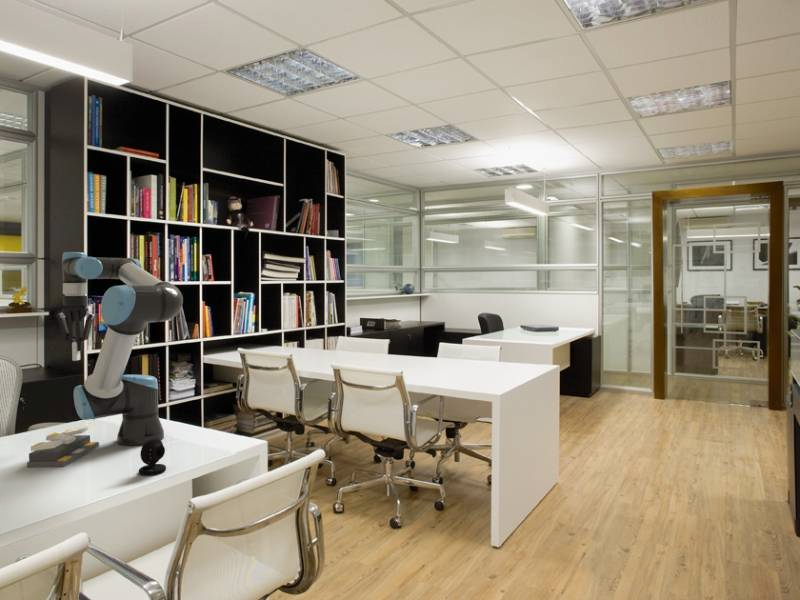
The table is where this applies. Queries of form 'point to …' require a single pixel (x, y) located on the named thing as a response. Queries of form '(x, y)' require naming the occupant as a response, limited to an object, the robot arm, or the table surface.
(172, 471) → the table surface
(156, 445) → the webcam
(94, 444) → the switch panel
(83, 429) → the rocker
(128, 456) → the table surface
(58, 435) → the rocker
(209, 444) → the table surface
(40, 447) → the rocker
